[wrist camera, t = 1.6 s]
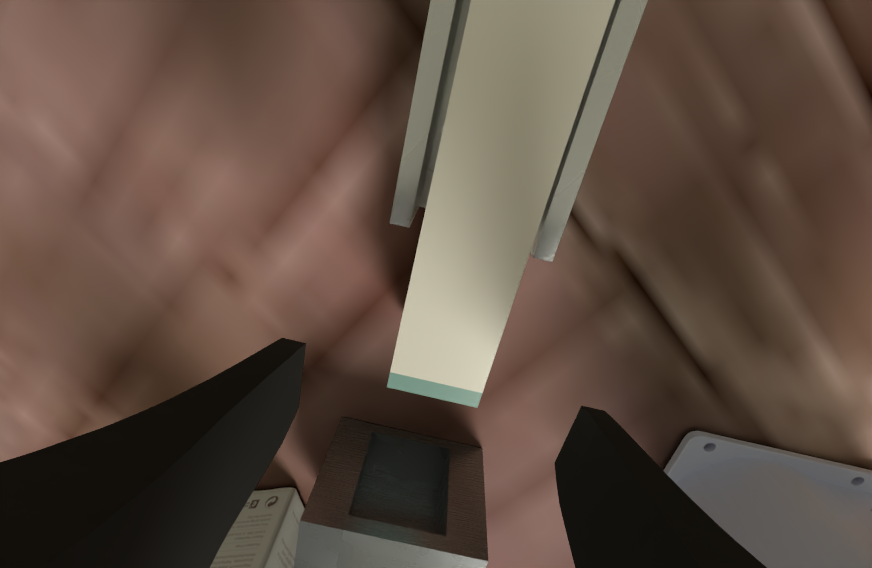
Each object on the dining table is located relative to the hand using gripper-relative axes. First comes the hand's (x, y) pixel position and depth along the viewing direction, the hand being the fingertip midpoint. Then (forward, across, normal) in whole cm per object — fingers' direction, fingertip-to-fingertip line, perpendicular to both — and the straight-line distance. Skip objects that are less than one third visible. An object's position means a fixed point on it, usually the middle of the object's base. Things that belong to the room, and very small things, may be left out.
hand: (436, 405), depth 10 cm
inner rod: (+7, 0, -6) cm, 9 cm away
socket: (+7, 0, +10) cm, 12 cm away
